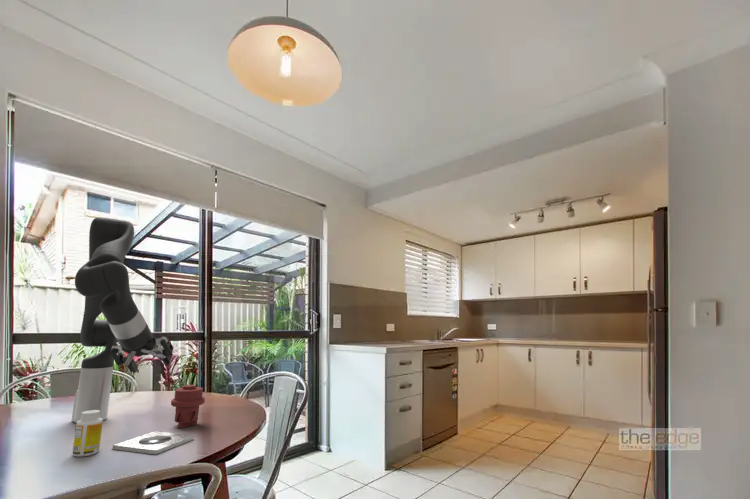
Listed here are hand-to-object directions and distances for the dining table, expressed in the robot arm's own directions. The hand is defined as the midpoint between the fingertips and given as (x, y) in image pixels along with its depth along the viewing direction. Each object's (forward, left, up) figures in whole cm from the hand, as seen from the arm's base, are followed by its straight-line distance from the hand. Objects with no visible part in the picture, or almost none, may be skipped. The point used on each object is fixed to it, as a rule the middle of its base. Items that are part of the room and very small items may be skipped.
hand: (152, 367), depth 114 cm
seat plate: (+3, +1, -20) cm, 21 cm away
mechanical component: (-3, +20, -21) cm, 29 cm away
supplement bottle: (-7, -11, -21) cm, 25 cm away
